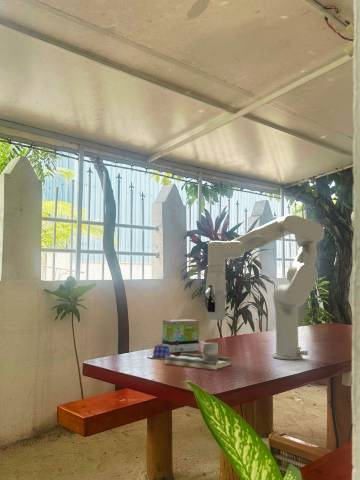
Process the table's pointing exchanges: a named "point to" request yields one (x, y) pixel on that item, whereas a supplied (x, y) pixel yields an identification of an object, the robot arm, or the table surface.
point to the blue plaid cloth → (161, 352)
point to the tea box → (181, 335)
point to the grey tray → (201, 358)
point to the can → (218, 307)
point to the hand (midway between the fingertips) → (216, 311)
